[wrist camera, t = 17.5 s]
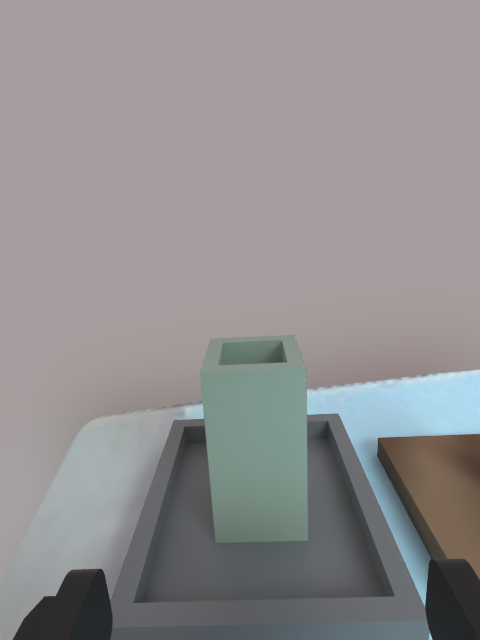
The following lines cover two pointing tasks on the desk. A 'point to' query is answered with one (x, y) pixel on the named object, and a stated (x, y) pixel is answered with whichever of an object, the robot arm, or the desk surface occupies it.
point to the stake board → (439, 490)
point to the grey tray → (265, 558)
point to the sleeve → (256, 438)
